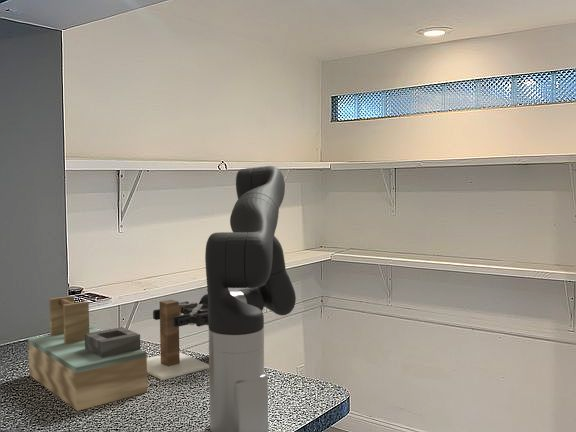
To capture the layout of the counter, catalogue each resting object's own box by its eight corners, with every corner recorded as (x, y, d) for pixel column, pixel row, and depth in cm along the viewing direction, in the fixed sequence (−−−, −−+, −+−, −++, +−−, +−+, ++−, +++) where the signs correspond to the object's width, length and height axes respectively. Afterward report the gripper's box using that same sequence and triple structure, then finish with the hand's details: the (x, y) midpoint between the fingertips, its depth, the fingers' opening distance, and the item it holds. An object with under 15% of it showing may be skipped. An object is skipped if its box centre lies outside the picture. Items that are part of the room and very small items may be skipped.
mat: (210, 367, 132) (210, 365, 132) (162, 380, 124) (162, 377, 124) (177, 353, 142) (177, 351, 142) (130, 364, 134) (130, 361, 134)
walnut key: (179, 363, 133) (178, 301, 132) (168, 366, 131) (166, 303, 130) (172, 360, 135) (171, 299, 134) (160, 363, 133) (159, 301, 132)
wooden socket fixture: (147, 392, 117) (145, 311, 116) (77, 411, 108) (74, 324, 107) (92, 361, 137) (90, 292, 136) (29, 375, 127) (26, 301, 126)
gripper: (206, 287, 147) (147, 296, 136) (241, 296, 136) (179, 307, 126) (207, 317, 148) (147, 329, 137) (241, 328, 137) (180, 342, 126)
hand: (163, 318), depth 131 cm, fingers open, 8 cm apart
